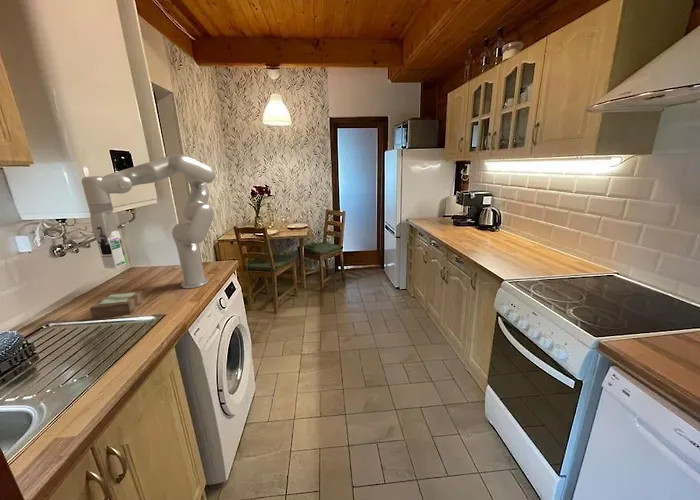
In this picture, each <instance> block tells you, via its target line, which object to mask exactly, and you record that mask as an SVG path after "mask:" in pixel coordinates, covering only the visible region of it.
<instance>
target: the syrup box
mask: <svg viewBox="0 0 700 500" xmlns="http://www.w3.org/2000/svg"><path fill="white" fill-rule="evenodd" d="M102 237H105V235H104V236H102ZM104 240H105V239H104ZM96 243H97V247H98V249H99V250H98V251H99V254H100V258H101V260H102V264H103V267H104V269H118V268H121V267H122V266H125V265H128V260H127V257H126V254H125V253H126V252H125V250H124V247H123V242H122V236H121V234H120V231H119V230H118V231H114V232H112V233H111V236H110V237H108V244H110V247H111V251H112V254H107V255H103V254H102V251H101V247H100V245H99V243H98V241H97V240H96Z"/></svg>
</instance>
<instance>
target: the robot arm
mask: <svg viewBox="0 0 700 500" xmlns="http://www.w3.org/2000/svg"><path fill="white" fill-rule="evenodd" d="M178 174H179V175H180V174H181V175H182V174H184V175H185V178H186V180H187V182H188V184H189V187H190V191H189V192H190V193H189V196H188V198H187V201H186V203H185V206H184V208H183V209H182V210H183V212H182V216H183V218H184V219H185V220H186V221H188V222H179V223H177V224H175V225H174V226H173V228H172V232H171V233H172V239H173V241H174V243H175V246H176V249H177V254H178V258H179V263H180V268H181V272H182V277H183V282H182V283H181V284H180V285H181V288H183V289H196V288H199V287H203V286H205V285H207V284H208V283H209V278H208V277H205V272H204V268H203V267H204V266H203V262H202V256H201V252H200V251H201V250H200V248H199V245H198V244H201V243H203V242H204V240H205V239H206V238H207V235H208V233H209V230H210V228H211V225H212V223H213V219H214V213H215V212H214V210H213V207H212V206H211V205H210V204H209V203H208V201H209V198H210V190H209V187H208V185H207V184H210V183H213V182H214V180H215V179H216V172H215V170H214V169H213V168H212V167H211V166H210V165H208V164H206V163H204V162H202V161H200V160H198V159H195V158H194V157H191V156H189V155H186V154H183V153H181V154H179V153H178V154H171V155H167V156H164V157H160V158H158V159H155V160H152V161H148V162H145V163H142V164H138V165H134V166H132V167H129V168H125V169H122V170H118V171H115V172H112V173H110V174H106V175H103V176H100V175H99V176H98V175H97V176H85V177H84V176H83V177H82V179H81V185H82V188H83V191H84V195H85V200H86V203H87V207H88V211H89V214H90V217H89V218H90V224H91V228H92V233H93V238H94V239H95V240H96V242H97V241H98V243H99V245H100V247H101V251H102V254H103V255H107V254H112V251H111V247H110V244H108V237H110V236H111V233H112V232H114V231H119V227H118V224H117V220H116V218H115V215H114V208H113V204H112V200H111V196H110V194H121V195H122V194H123V195H124V194H126V193H128V192H130V191H131V190H132V188H133V187H134V186H135V187H136V186H140V185H146V184H153V183H157V182H159V181H162V180H165V179H167V178H171V177H173V176H175V175H178ZM104 235H105V237H102V236H104ZM104 239H105V240H104Z"/></svg>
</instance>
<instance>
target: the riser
mask: <svg viewBox="0 0 700 500" xmlns="http://www.w3.org/2000/svg"><path fill="white" fill-rule="evenodd" d="M144 302H145V296H144V293H143V290H136V291H126V292H125V291H124V292H119V293H118V292H117V293H109V294H106V295H105V296H104V297H102V298H101V299H100V300H98V301H97V302H95V304H93V305H92V306H91V307H89V310H90V313H91V316H92V319H93V320H97V319H106V318H111V317H112V318H113V317H123V316H129V315H132V314H133V313H134V312H135V311H136V310H137V309H138V308H139V307H140V306H141V305H142V304H143V303H144Z"/></svg>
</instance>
